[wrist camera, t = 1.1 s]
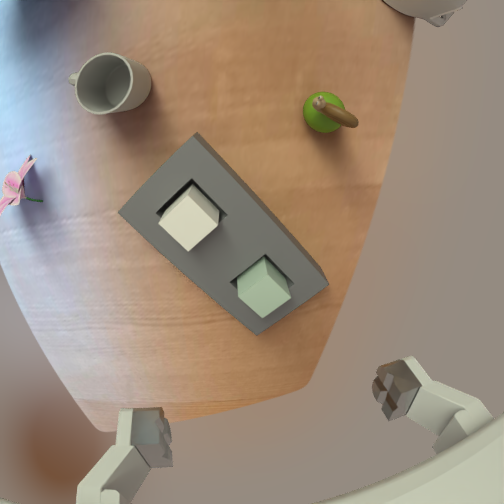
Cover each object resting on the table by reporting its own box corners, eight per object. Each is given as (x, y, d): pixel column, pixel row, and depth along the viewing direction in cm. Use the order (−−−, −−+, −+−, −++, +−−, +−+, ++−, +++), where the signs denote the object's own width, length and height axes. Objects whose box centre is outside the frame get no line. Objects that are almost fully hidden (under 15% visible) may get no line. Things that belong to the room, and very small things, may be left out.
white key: (192, 183, 39) (187, 195, 35) (219, 210, 41) (218, 225, 37) (166, 209, 40) (158, 223, 36) (192, 234, 42) (188, 251, 38)
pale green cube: (263, 256, 44) (267, 274, 40) (285, 278, 46) (291, 297, 42) (237, 276, 46) (238, 296, 41) (259, 297, 48) (262, 318, 43)
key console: (197, 131, 39) (192, 135, 35) (320, 267, 50) (329, 284, 46) (128, 200, 43) (117, 212, 38) (254, 316, 54) (256, 335, 49)
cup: (144, 115, 38) (123, 119, 30) (81, 103, 36) (50, 106, 28) (159, 65, 35) (141, 56, 27) (94, 55, 33) (64, 48, 25)
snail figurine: (301, 82, 37) (328, 76, 26) (343, 103, 39) (381, 106, 28) (286, 117, 39) (307, 123, 29) (328, 136, 41) (361, 150, 30)
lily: (67, 151, 40) (18, 140, 30) (62, 229, 40) (11, 230, 31) (26, 163, 43) (-17, 156, 33) (22, 230, 43) (-22, 231, 34)
